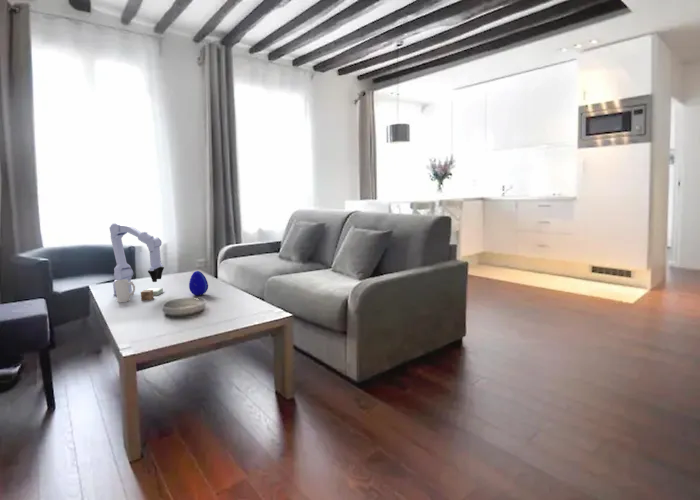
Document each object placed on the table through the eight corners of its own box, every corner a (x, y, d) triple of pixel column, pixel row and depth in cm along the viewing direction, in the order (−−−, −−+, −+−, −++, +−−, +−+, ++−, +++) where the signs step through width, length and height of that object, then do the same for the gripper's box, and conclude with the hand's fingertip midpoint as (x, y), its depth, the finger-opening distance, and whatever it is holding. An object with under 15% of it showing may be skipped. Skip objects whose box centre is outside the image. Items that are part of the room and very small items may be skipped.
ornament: (211, 294, 261) (209, 270, 259) (200, 297, 253) (198, 273, 250) (197, 292, 266) (195, 268, 263) (186, 296, 257) (184, 271, 255)
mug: (116, 303, 243) (114, 282, 241) (116, 300, 249) (114, 280, 247) (136, 300, 248) (134, 280, 246) (135, 298, 254) (134, 278, 252)
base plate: (142, 295, 259) (142, 291, 258) (148, 292, 268) (147, 288, 267) (157, 295, 259) (157, 291, 259) (163, 291, 268) (162, 287, 268)
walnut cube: (141, 300, 249) (140, 292, 248) (144, 298, 254) (144, 290, 253) (150, 300, 249) (149, 291, 248) (153, 298, 254) (152, 289, 253)
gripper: (157, 260, 248) (159, 283, 250) (166, 256, 262) (167, 277, 264) (145, 260, 247) (147, 283, 249) (154, 256, 261) (156, 278, 263)
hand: (157, 280), depth 256 cm, fingers open, 7 cm apart
